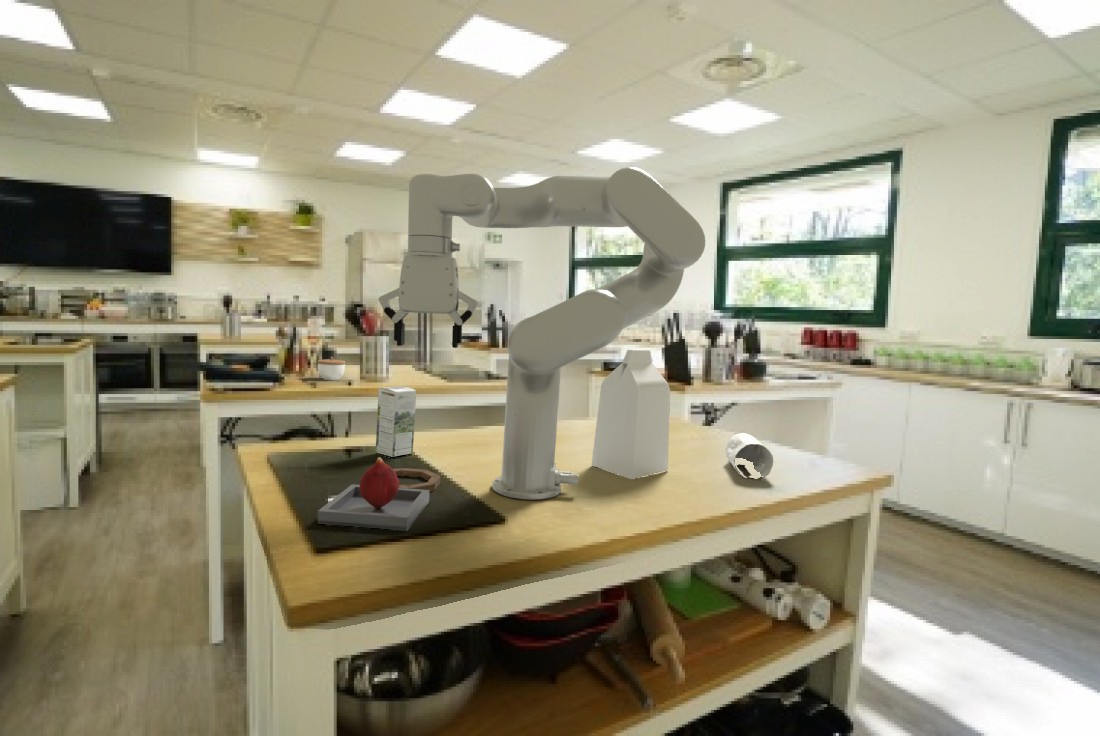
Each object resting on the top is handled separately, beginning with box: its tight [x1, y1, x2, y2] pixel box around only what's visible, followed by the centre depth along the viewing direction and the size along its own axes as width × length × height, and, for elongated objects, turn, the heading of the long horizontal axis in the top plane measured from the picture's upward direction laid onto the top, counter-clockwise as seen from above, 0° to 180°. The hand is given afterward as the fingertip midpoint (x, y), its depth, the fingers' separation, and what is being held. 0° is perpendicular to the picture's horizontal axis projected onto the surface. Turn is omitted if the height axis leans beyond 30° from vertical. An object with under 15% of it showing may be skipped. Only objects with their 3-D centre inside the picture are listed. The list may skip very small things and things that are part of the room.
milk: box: [591, 349, 671, 480], centre depth 123 cm, size 12×12×26 cm
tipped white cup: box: [724, 432, 774, 478], centre depth 130 cm, size 8×19×8 cm, turn 172°
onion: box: [359, 457, 400, 509], centre depth 88 cm, size 6×6×8 cm
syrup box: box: [375, 386, 417, 457], centre depth 123 cm, size 6×6×14 cm
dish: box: [316, 483, 431, 532], centre depth 88 cm, size 13×13×2 cm
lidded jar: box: [317, 356, 346, 381], centre depth 234 cm, size 11×11×9 cm
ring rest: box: [392, 467, 442, 492], centre depth 103 cm, size 12×12×1 cm
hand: (428, 346), depth 102 cm, fingers open, 9 cm apart
